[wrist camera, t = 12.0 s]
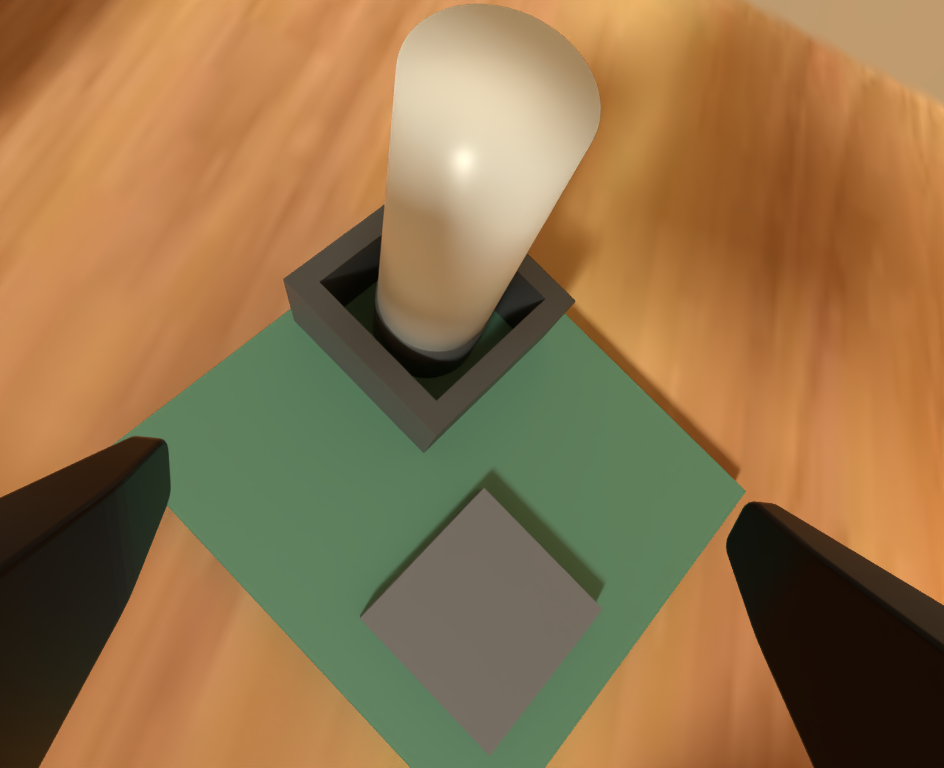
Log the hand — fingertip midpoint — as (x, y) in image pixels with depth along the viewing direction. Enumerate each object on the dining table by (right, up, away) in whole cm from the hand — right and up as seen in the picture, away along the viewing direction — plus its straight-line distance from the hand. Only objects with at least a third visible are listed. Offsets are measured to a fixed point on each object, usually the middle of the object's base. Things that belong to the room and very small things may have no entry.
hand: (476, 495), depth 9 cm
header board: (-1, -2, +13) cm, 14 cm away
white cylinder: (-2, +4, +14) cm, 14 cm away
